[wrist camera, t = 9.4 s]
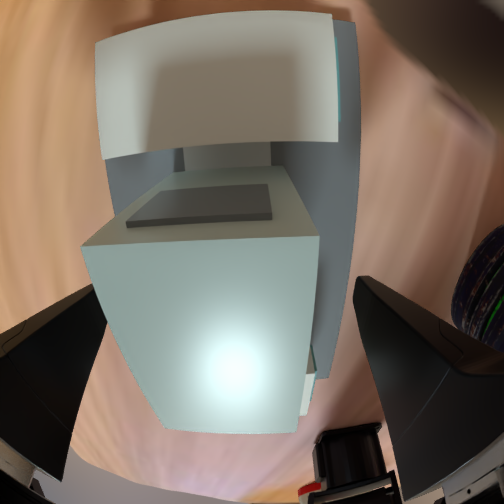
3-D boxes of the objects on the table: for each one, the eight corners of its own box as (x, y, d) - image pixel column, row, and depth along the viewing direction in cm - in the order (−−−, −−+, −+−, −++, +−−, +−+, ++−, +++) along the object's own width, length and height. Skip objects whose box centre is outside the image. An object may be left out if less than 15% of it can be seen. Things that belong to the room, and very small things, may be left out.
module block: (283, 161, 11) (319, 227, 4) (283, 306, 14) (296, 432, 8) (173, 169, 11) (78, 239, 5) (195, 308, 14) (164, 428, 8)
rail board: (348, 28, 9) (389, -6, 5) (326, 367, 18) (337, 421, 14) (108, 49, 9) (51, 33, 5) (169, 368, 18) (155, 420, 14)
